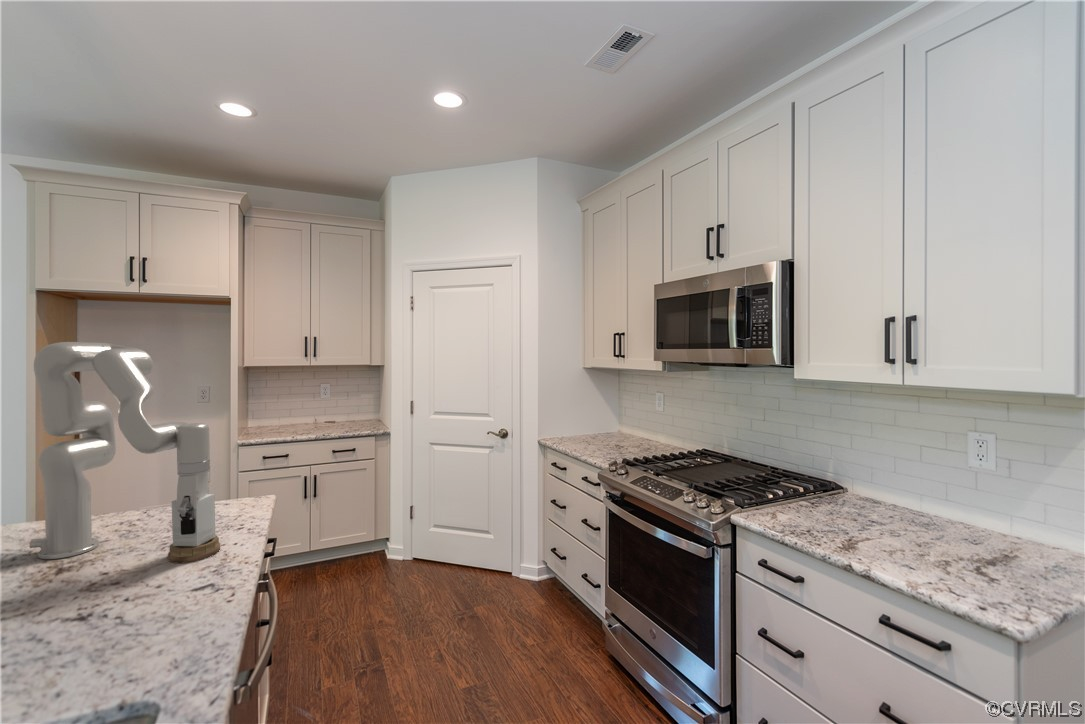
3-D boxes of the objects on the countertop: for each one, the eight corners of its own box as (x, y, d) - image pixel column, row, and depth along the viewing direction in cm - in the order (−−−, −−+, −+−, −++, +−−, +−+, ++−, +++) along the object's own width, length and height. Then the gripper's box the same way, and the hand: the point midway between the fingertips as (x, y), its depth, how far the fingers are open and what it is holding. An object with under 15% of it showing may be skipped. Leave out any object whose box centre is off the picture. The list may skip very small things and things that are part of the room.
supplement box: (216, 537, 142) (216, 493, 141) (196, 547, 134) (195, 501, 134) (192, 536, 142) (192, 493, 142) (171, 546, 135) (170, 500, 135)
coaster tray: (159, 565, 131) (159, 552, 131) (179, 548, 142) (179, 536, 142) (211, 560, 134) (211, 547, 134) (226, 543, 146) (226, 532, 146)
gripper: (191, 461, 145) (192, 519, 145) (163, 475, 128) (165, 540, 129) (220, 460, 147) (221, 516, 147) (196, 473, 130) (198, 537, 131)
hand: (195, 527), depth 138 cm, fingers closed on supplement box, 9 cm apart
